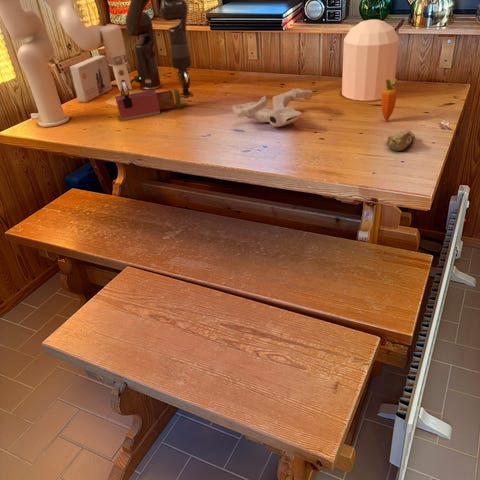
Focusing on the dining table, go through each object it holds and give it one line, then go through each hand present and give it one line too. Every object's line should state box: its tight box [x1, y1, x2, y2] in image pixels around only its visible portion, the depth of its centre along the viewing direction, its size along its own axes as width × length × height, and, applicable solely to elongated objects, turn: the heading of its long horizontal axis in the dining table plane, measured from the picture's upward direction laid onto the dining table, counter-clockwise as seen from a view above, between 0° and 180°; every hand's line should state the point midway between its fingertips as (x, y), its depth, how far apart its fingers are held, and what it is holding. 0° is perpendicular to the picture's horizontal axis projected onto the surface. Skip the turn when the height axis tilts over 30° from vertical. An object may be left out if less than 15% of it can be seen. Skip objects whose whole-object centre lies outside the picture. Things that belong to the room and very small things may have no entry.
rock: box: [387, 129, 416, 152], centre depth 146 cm, size 11×6×10 cm
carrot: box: [380, 78, 398, 122], centre depth 161 cm, size 5×5×15 cm
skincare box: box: [69, 54, 113, 103], centre depth 218 cm, size 21×6×16 cm, turn 158°
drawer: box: [156, 87, 195, 111], centre depth 194 cm, size 21×5×7 cm, turn 109°
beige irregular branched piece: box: [231, 88, 314, 128], centre depth 171 cm, size 28×26×12 cm
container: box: [341, 18, 400, 102], centre depth 185 cm, size 21×21×28 cm
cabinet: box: [114, 89, 161, 122], centre depth 191 cm, size 16×6×8 cm, turn 109°
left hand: (127, 104), depth 190 cm, fingers closed on cabinet, 6 cm apart
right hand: (186, 97), depth 196 cm, fingers closed
